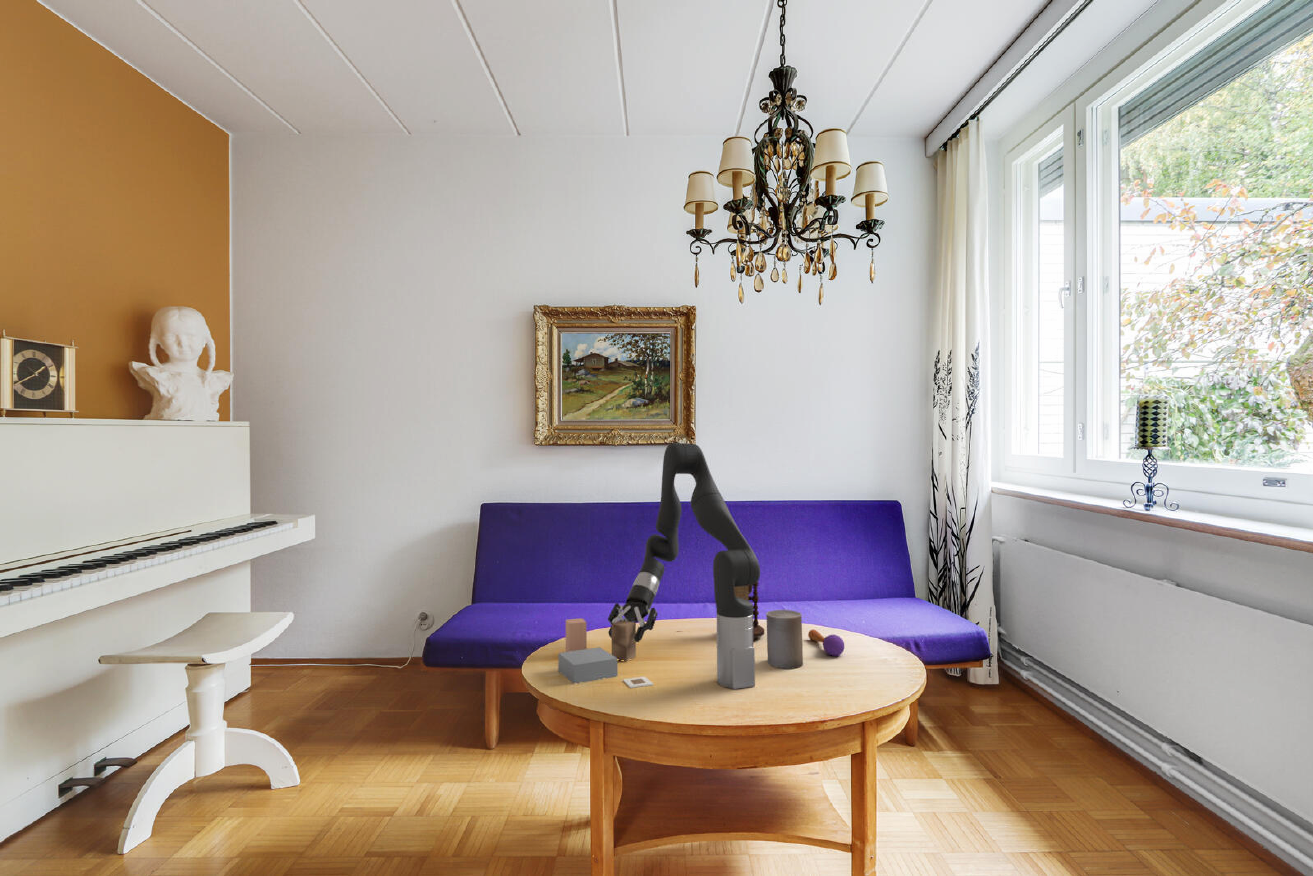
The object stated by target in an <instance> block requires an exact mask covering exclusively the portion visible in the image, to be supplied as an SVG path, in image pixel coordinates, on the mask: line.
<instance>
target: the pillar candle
mask: <svg viewBox="0 0 1313 876" xmlns="http://www.w3.org/2000/svg"><path fill="white" fill-rule="evenodd" d="M765 615H766V643H767V644H766V647H767V663H768V665H769V664H770V665H769V666H771V665H772V666H771V667H775V668H778V669H795V668H800V667H801V666H803V665H804V657H803V656H804V655H803V624H802V623H803V622H802V619H803V618H802V613H801V612H799V611H796V610H792V609H791V610H789V609H785V608H784V609H776V610H775V609H774V610H770V611H768V612H766V613H765Z"/></svg>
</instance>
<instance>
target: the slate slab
mask: <svg viewBox="0 0 1313 876" xmlns="http://www.w3.org/2000/svg"><path fill="white" fill-rule="evenodd" d="M557 670H558V672H559V673H560V674H561V675H562V676H563V677H565V678H566V679H568V680H569V681H570V682H571V683H572V682H573V683H572V684H573V685H576V684H575V683H577V684H580V683H579V682H583V683H588V681H589V682H594V681H600V680H604V679H603V678H606V679H610V678H611V679H612V678H615V677H616V676H617V677H618V661H617V658H616V657H614V656H613V655H612V653H610V652H608V651H606V650H605V649H603V648H602V647H594V648H593V647H592V648H587V649H584V650H577V651H570V652H566V651H564V652H558V669H557ZM617 677H616V678H617ZM599 679H600V680H599ZM593 680H594V681H593Z"/></svg>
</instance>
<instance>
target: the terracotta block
mask: <svg viewBox="0 0 1313 876" xmlns="http://www.w3.org/2000/svg"><path fill="white" fill-rule="evenodd" d="M587 626H588V625H587V621H586V620H585V619H584V618H571V619H568V618H567V619H565V652H570V651H577V650H584V649H588V648H587V642H588V641H587V628H588V627H587Z"/></svg>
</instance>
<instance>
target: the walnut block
mask: <svg viewBox="0 0 1313 876" xmlns="http://www.w3.org/2000/svg"><path fill="white" fill-rule="evenodd" d="M636 625H637V623H636V622H629V621H622V620H621V621H620V620H619V621H618V622H616V623H613V624H612V638H611V655H613V656H614V657H616V658H617V659H619V660H624V661H628V660H629V659H632V658H634V657H635V656H636V657H637V652H636V651H637V644H636V643H637V642H636V641H635V640H634V636H635V634H636V632H637V629H636V628H637V627H636ZM634 659H635V658H634ZM632 660H633V659H632ZM628 662H629V661H628Z"/></svg>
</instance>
